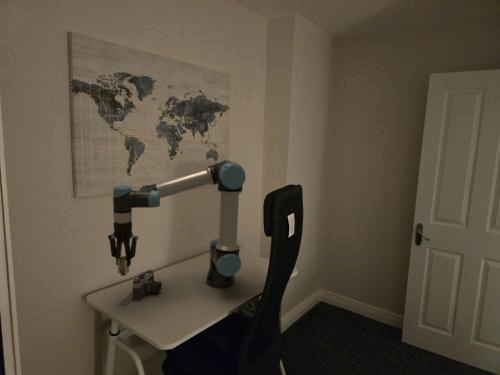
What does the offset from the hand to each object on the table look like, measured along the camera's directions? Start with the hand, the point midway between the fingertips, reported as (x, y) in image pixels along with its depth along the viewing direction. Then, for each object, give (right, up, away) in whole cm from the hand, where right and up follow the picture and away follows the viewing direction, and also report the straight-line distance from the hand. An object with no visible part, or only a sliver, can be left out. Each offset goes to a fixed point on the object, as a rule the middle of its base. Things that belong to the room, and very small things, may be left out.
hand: (123, 272), depth 147 cm
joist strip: (0, -14, +9) cm, 16 cm away
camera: (+8, -14, +12) cm, 20 cm away
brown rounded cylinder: (0, -1, 0) cm, 1 cm away
